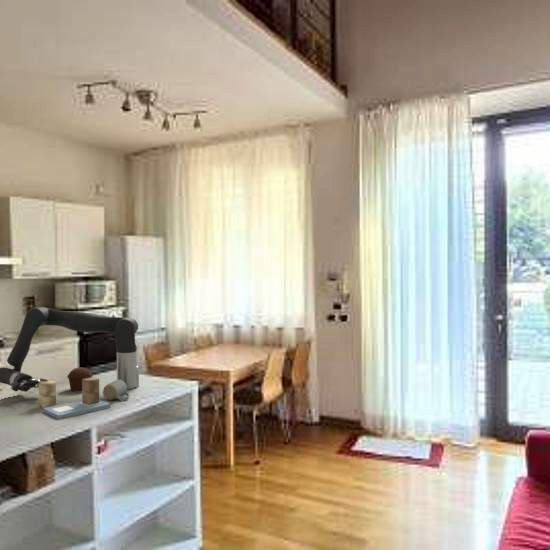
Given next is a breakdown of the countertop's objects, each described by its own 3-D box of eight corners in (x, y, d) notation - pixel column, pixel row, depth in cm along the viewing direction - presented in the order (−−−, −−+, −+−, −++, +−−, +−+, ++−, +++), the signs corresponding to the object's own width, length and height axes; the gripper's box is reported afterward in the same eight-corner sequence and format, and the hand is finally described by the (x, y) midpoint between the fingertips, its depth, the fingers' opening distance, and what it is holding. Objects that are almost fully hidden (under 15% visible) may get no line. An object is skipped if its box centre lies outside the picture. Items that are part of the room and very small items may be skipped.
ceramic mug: (101, 400, 233) (101, 382, 233) (113, 395, 241) (113, 378, 241) (122, 402, 230) (122, 385, 230) (133, 397, 238) (133, 380, 237)
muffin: (97, 389, 252) (96, 368, 251) (73, 393, 244) (73, 371, 244) (86, 385, 261) (86, 364, 260) (63, 388, 253) (63, 367, 253)
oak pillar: (50, 403, 228) (50, 380, 227) (56, 406, 224) (55, 382, 224) (39, 406, 224) (38, 382, 224) (44, 408, 221) (44, 384, 220)
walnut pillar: (93, 400, 227) (93, 377, 226) (99, 402, 223) (99, 379, 223) (82, 402, 223) (82, 379, 223) (88, 405, 220) (87, 381, 219)
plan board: (93, 401, 232) (93, 397, 232) (110, 407, 222) (110, 403, 222) (43, 411, 216) (42, 408, 216) (58, 419, 206) (58, 415, 206)
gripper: (4, 375, 237) (19, 381, 226) (37, 370, 247) (52, 376, 236) (5, 392, 237) (19, 399, 226) (37, 386, 248) (53, 393, 237)
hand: (36, 387), depth 231 cm, fingers open, 8 cm apart
